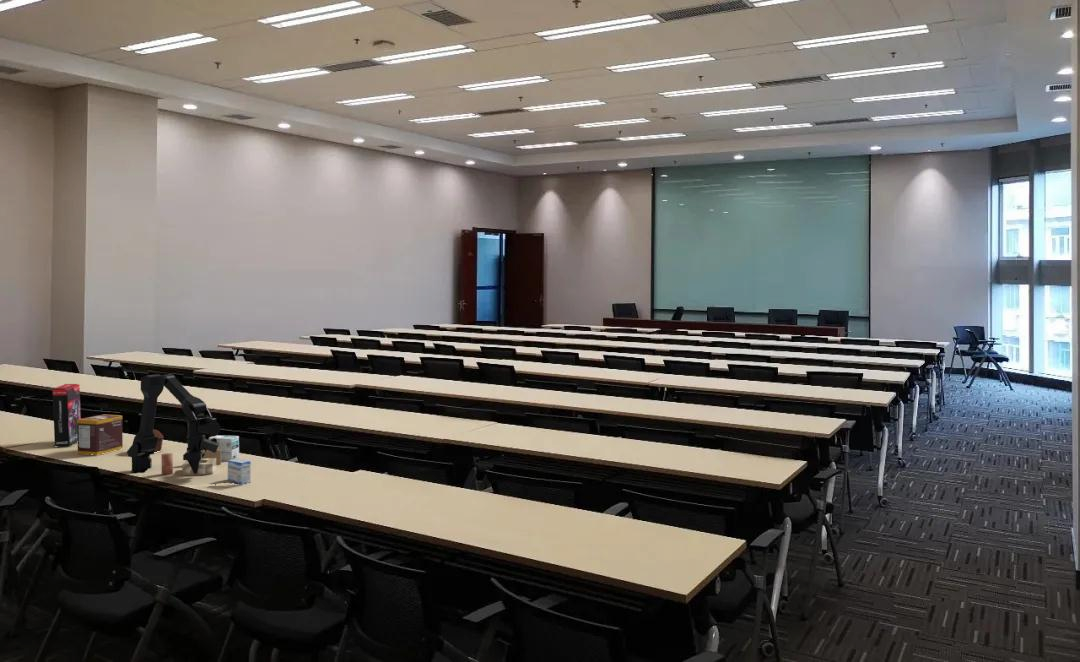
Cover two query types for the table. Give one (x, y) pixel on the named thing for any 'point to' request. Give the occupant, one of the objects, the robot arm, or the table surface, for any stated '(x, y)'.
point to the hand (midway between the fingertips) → (195, 473)
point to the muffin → (159, 441)
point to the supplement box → (99, 434)
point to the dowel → (167, 464)
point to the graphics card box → (66, 414)
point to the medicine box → (239, 471)
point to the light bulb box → (228, 447)
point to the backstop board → (213, 455)
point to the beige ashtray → (200, 467)
